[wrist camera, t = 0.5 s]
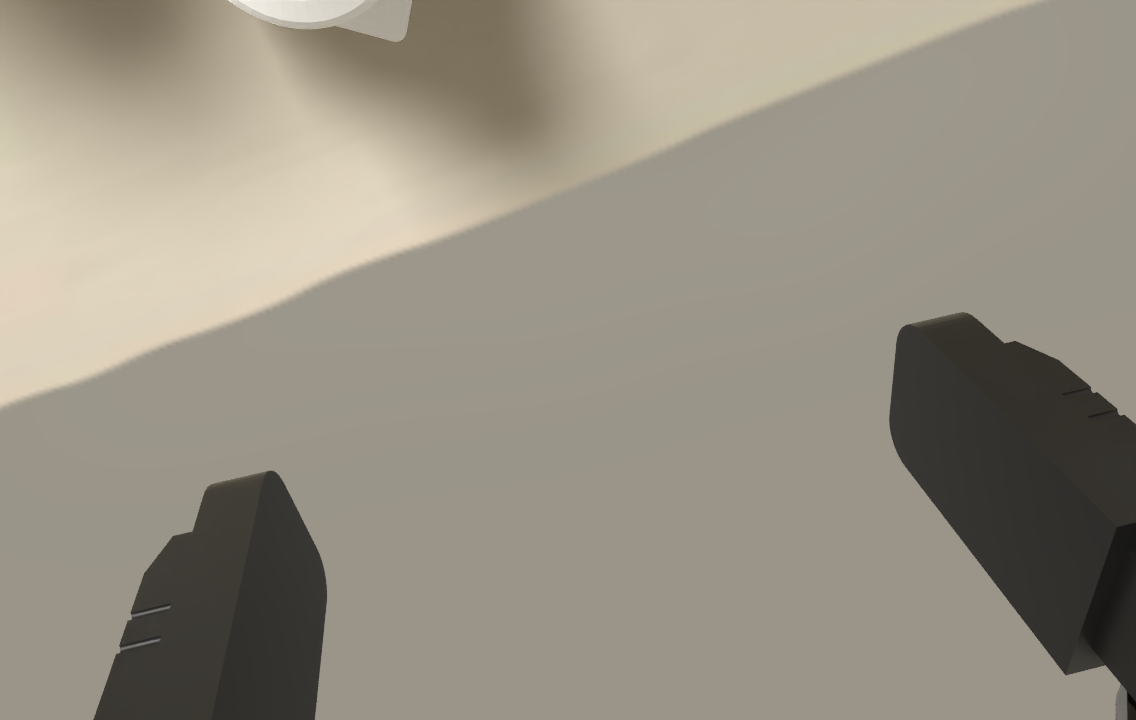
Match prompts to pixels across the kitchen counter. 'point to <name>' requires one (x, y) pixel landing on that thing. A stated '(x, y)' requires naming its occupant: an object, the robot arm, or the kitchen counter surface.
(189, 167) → the kitchen counter surface
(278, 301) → the kitchen counter surface
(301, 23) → the medicine bottle
